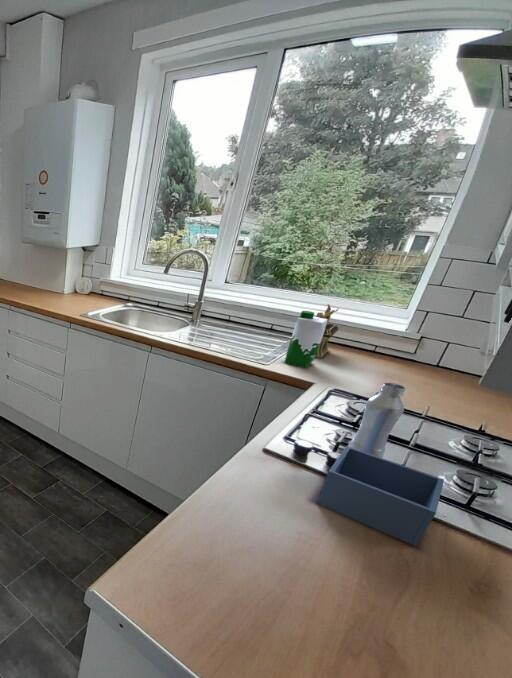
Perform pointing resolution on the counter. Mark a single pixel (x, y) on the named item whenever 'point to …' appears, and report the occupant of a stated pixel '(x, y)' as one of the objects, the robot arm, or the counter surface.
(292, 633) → the counter surface
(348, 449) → the tote
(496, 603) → the counter surface
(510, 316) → the robot arm
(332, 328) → the brown figurine
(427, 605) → the counter surface
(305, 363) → the milk carton
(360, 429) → the plastic bottle
